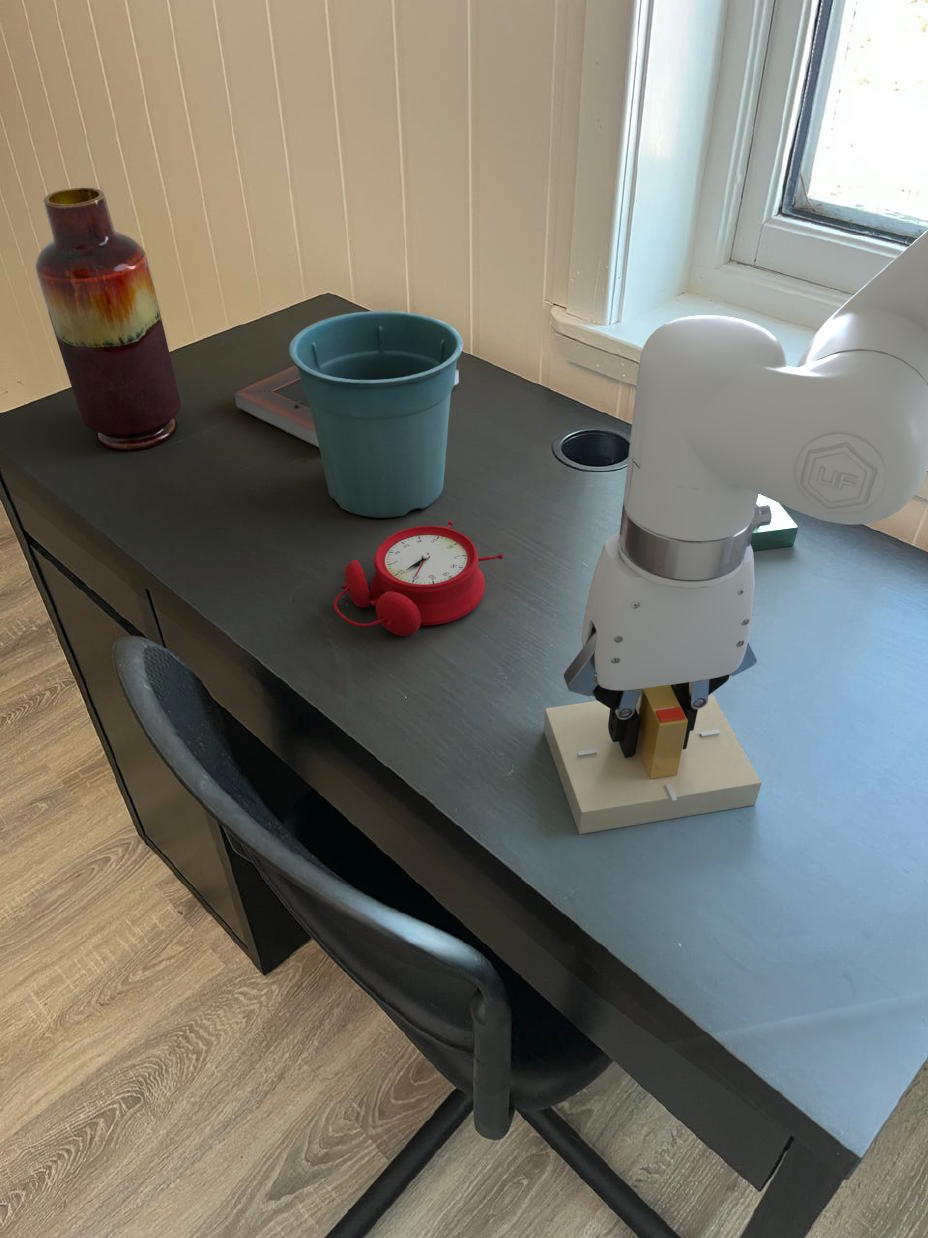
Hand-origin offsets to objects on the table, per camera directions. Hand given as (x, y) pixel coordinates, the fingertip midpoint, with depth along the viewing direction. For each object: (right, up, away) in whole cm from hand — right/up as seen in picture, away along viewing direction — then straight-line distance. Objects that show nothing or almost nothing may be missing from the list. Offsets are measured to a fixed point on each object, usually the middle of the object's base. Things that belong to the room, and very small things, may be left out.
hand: (649, 737), depth 68 cm
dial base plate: (0, -2, +2) cm, 3 cm away
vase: (-51, +30, +42) cm, 73 cm away
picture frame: (-27, +35, +47) cm, 65 cm away
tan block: (0, 0, 0) cm, 1 cm away
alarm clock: (-18, +10, +17) cm, 27 cm away
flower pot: (-21, +22, +32) cm, 44 cm away
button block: (+13, +18, +25) cm, 33 cm away
